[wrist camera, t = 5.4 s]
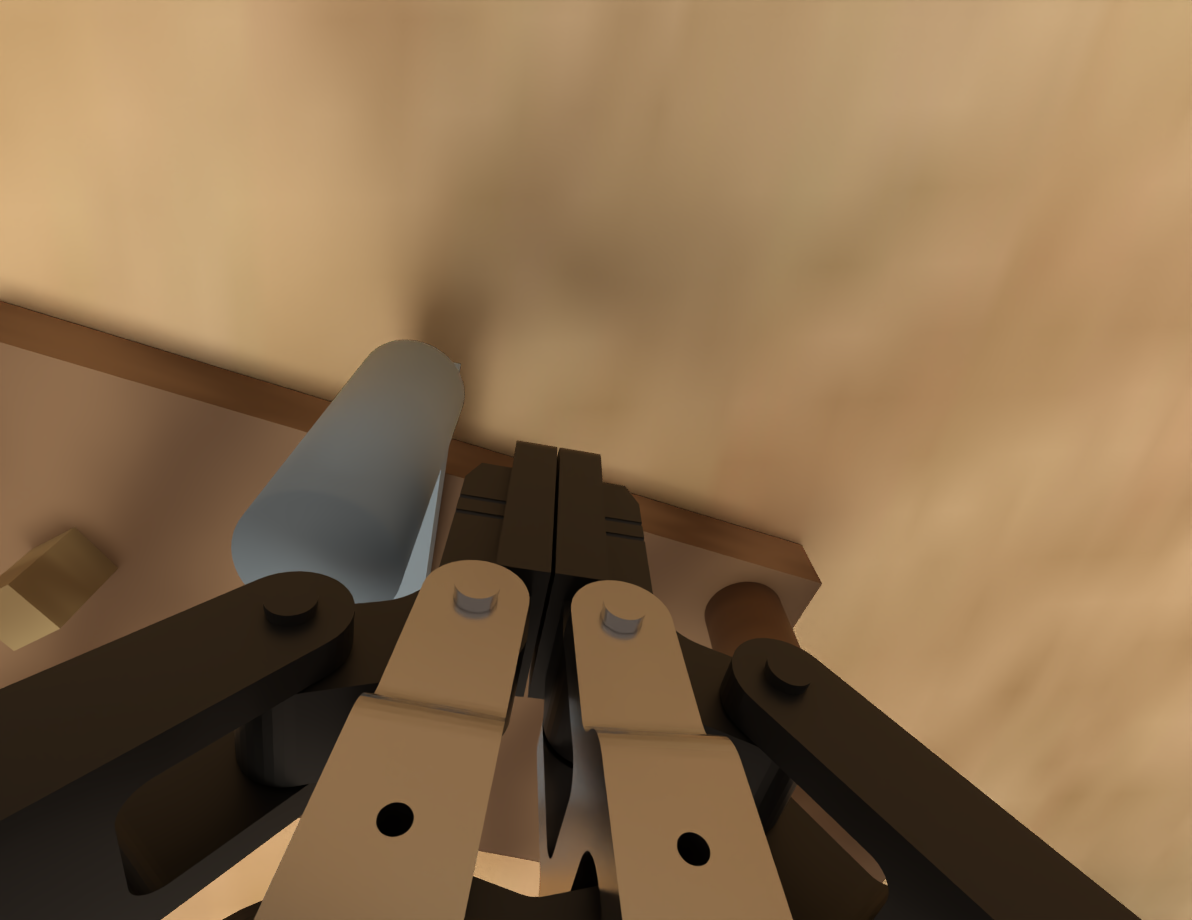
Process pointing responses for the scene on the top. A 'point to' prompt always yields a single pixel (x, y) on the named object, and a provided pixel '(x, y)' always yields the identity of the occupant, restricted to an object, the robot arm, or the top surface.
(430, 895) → the robot arm
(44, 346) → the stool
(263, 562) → the cylinder
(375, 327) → the top surface
